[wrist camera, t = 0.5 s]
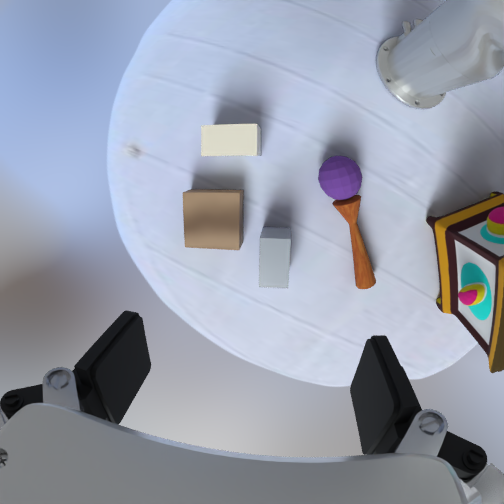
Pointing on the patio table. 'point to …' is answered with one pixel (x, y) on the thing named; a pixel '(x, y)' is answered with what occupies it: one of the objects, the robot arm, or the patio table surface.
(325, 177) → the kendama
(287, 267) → the slate grey brick
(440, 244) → the decorative lantern
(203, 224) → the walnut block
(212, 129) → the cream brick
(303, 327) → the patio table surface
